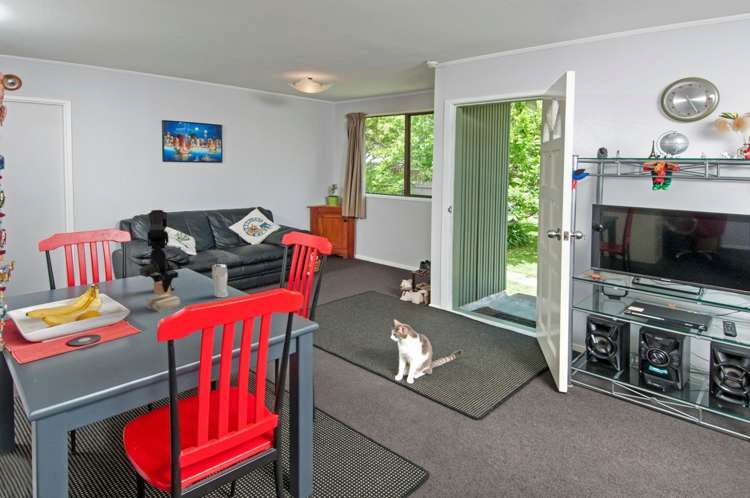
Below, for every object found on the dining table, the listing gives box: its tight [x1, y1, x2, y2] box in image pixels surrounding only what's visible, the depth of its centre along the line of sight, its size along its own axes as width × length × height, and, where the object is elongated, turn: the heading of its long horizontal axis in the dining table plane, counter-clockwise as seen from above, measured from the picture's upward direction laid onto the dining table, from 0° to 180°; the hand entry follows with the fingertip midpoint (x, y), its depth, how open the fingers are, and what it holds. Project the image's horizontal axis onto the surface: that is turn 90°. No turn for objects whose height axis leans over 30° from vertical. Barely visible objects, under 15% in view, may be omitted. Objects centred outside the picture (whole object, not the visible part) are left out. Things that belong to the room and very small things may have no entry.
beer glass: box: [211, 263, 229, 298], centre depth 230 cm, size 7×7×15 cm
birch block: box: [145, 293, 181, 313], centre depth 214 cm, size 10×10×4 cm
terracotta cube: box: [153, 281, 172, 296], centre depth 213 cm, size 5×5×5 cm
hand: (162, 291), depth 214 cm, fingers closed on terracotta cube, 5 cm apart
